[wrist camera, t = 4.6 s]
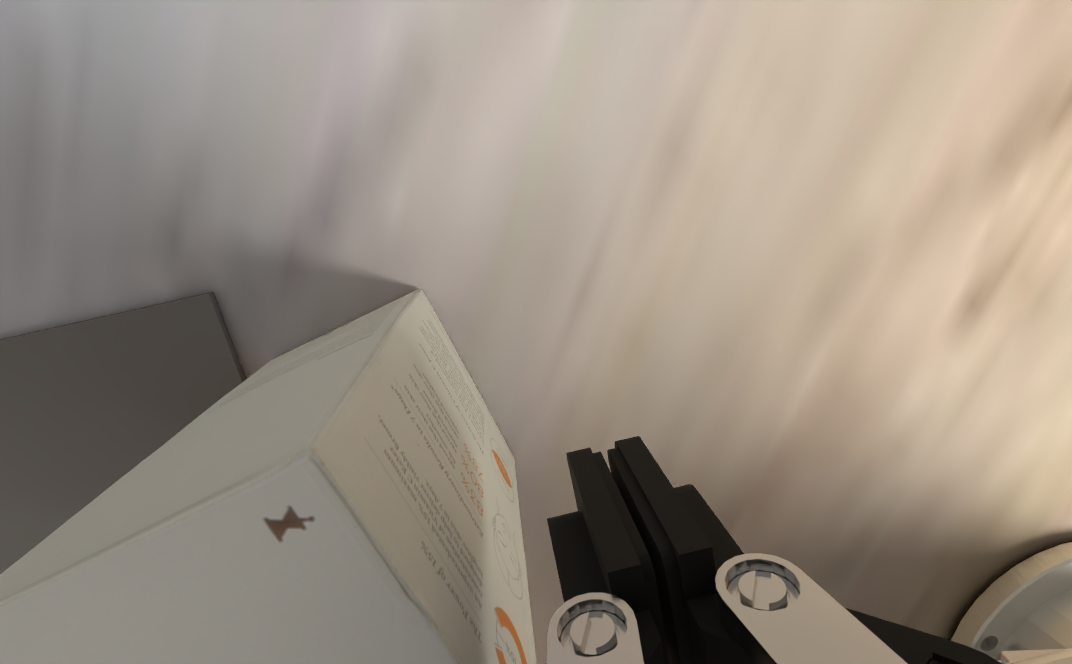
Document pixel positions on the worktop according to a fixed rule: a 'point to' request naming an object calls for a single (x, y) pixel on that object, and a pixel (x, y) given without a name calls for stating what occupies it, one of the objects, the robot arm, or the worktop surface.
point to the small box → (299, 524)
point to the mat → (100, 406)
